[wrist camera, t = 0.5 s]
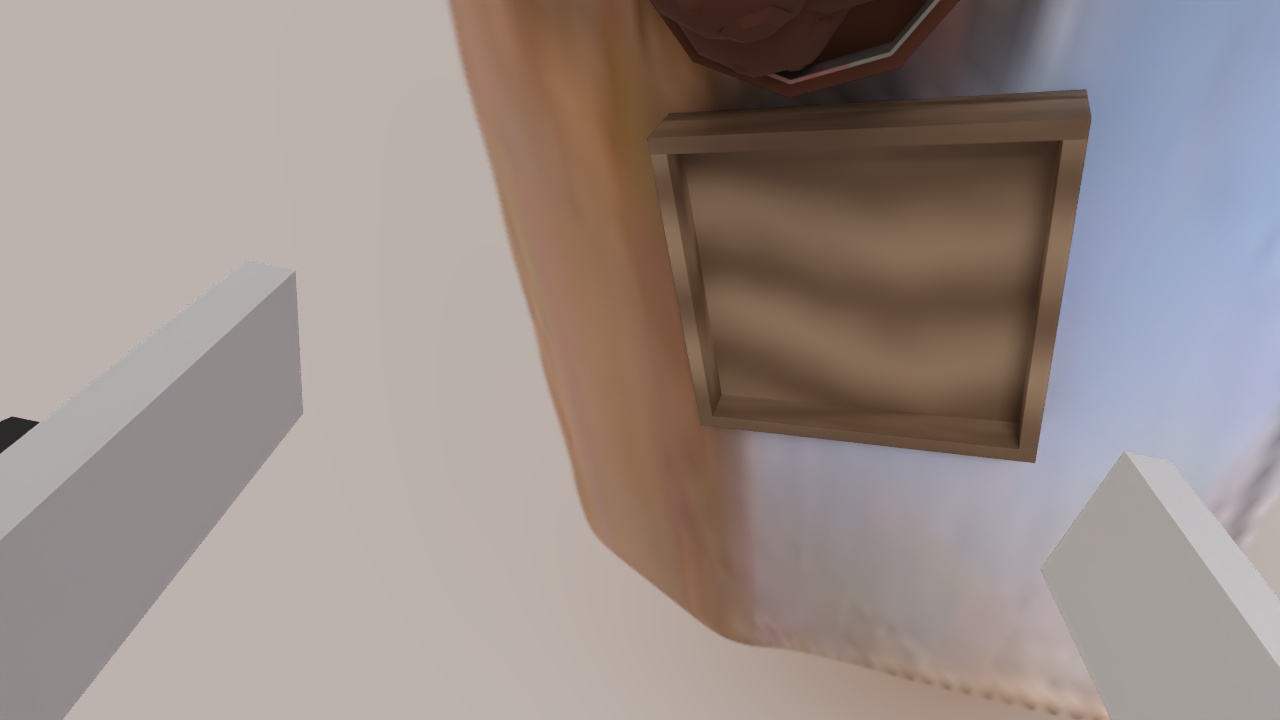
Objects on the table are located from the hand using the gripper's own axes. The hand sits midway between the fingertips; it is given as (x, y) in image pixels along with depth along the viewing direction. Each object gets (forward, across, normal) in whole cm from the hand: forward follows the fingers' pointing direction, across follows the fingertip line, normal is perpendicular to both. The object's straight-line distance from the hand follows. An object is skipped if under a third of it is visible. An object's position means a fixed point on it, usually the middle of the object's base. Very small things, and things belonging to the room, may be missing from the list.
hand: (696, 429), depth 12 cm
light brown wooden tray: (+26, +10, -8) cm, 29 cm away
